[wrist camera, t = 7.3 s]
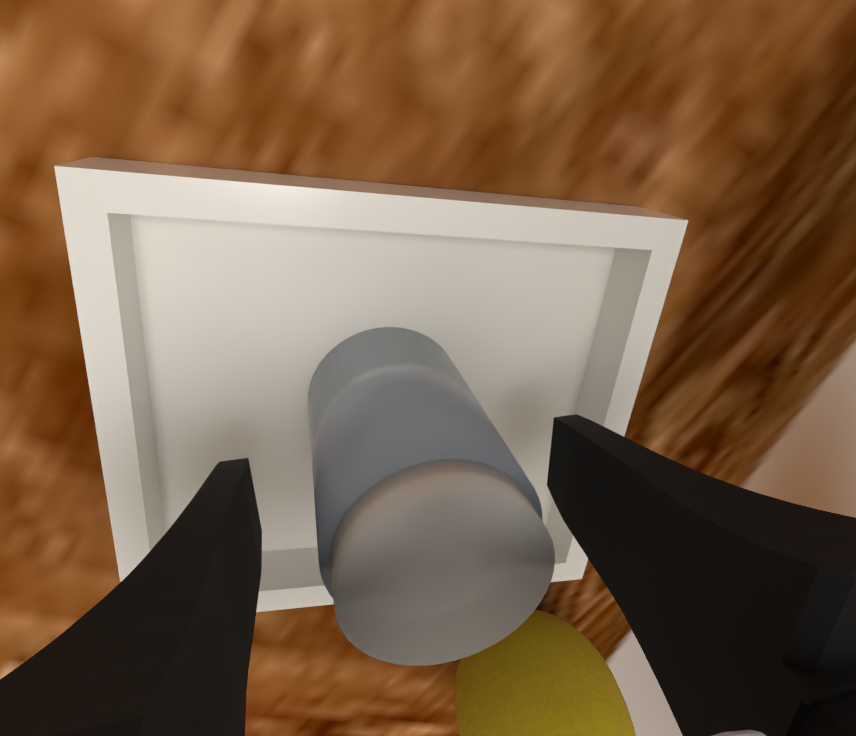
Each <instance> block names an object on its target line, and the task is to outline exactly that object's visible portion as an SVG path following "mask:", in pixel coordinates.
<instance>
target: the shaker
mask: <svg viewBox="0 0 856 736" xmlns="http://www.w3.org/2000/svg"><path fill="white" fill-rule="evenodd" d="M308 416H309V430H310V445H311V459H312V473H313V488H314V502H315V517H316V531H317V546H318V560H319V568H320V574H321V577H322V580H323V583H324V585H325V587H326V589H327V591H328V593H329V594H330V596H331V597H332V598H333V601H334V609H335V616H336V619H337V622H338V625H339V627H340V629H341V630H342V632H343V634H344V635H345V637H346V638H347V639H348V640H349V641H350V642H351V643H352V644H353V645H354V646H355V647H356V648H358V649H359V650H360V651H362V652H364V653H365V654H367V655H369V656H371V657H373V658H376V659H378V660H381V661H385V662H388V663H392V664H399V665H408V666H425V665H435V664H442V663H447V662H451V661H455V660H459V659H462V658H465V657H468V656H471V655H473V654H475V653H478V652H480V651H482V650H484V649H486V648H488V647H490V646H492V645H494V644H496V643H497V642H499V641H500V640H502V639H504V638H505V637H506V636H508V635H509V634H510V633H512V632H513V631H514V630H516V629H517V628H518V627H519V626H520V625H521V624H522V623H523V622H525V621H526V619H527V618H528V617H529V616H530V615H531V614H532V613H533V612H534V610H535V609H536V608H537V606H538V605H539V604H540V602H541V601H542V599H543V597H544V595H545V594H546V592H547V590H548V587H549V585H550V583H551V580H552V576H553V572H554V565H555V550H554V546H553V541H552V538H551V536H550V534H549V532H548V530H547V528H546V526H545V525H544V523H543V518H542V508H541V504H540V500H539V497H538V495H537V493H536V490H535V488H534V487H533V485H532V484H531V482H530V481H529V479H528V478H527V476H526V474H525V473H524V471H523V470H522V468H521V467H520V465H519V464H518V462H517V460H516V459H515V457H514V456H513V454H512V453H511V451H510V450H509V448H508V447H507V445H506V443H505V442H504V440H503V439H502V437H501V436H500V434H499V433H498V431H497V430H496V428H495V426H494V425H493V423H492V422H491V420H490V419H489V417H488V416H487V414H486V412H485V411H484V409H483V408H482V406H481V405H480V403H479V402H478V400H477V399H476V397H475V395H474V394H473V392H472V391H471V389H470V388H469V386H468V385H467V383H466V381H465V380H464V378H463V377H462V375H461V374H460V372H459V371H458V369H457V368H456V366H455V364H454V363H453V361H452V360H451V358H450V357H449V355H448V354H447V352H446V351H445V350H444V349H443V348H442V347H441V346H440V345H439V344H438V343H436V342H435V341H434V340H432V339H431V338H429V337H427V336H426V335H424V334H421V333H419V332H417V331H413V330H410V329H405V328H398V327H382V328H375V329H370V330H366V331H363V332H360V333H357V334H355V335H353V336H351V337H349V338H347V339H345V340H344V341H342V342H341V343H339V344H338V345H336V346H335V347H334V348H333V349H332V350H331V351H330V352H329V353H328V354H327V355H326V356H325V357H324V358H323V359H322V361H321V362H320V364H319V365H318V367H317V368H316V370H315V372H314V374H313V376H312V379H311V382H310V386H309V391H308Z"/></svg>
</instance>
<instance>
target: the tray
mask: <svg viewBox="0 0 856 736" xmlns="http://www.w3.org/2000/svg"><path fill="white" fill-rule="evenodd" d="M54 168H55V174H56V180H57V187H58V193H59V199H60V205H61V212H62V218H63V224H64V231H65V237H66V243H67V250H68V256H69V262H70V268H71V275H72V281H73V287H74V294H75V300H76V306H77V312H78V319H79V325H80V331H81V338H82V344H83V350H84V357H85V363H86V369H87V375H88V382H89V388H90V394H91V401H92V407H93V413H94V419H95V426H96V432H97V438H98V445H99V451H100V457H101V464H102V470H103V476H104V482H105V489H106V495H107V501H108V508H109V514H110V520H111V526H112V533H113V539H114V545H115V552H116V558H117V564H118V571H119V577H120V582H121V581H122V580H123V579H125V578H126V577H127V576H128V575H129V574H130V573H131V571H132V570H133V569H134V568H135V567H136V566H137V565H138V564H139V563H140V562H141V561H142V560H143V559H144V558H145V556H146V555H147V554H148V553H149V552H150V551H151V550H152V548H153V547H154V546H155V545H156V544H157V543H158V541H159V540H160V539H161V538H162V537H163V536H164V534H165V533H166V532H167V531H168V530H169V528H170V527H171V526H172V525H173V523H174V522H175V521H176V520H177V518H178V517H179V516H180V514H181V513H182V512H183V510H184V509H185V508H186V507H187V505H188V504H189V503H190V501H191V500H192V498H193V497H194V496H195V494H196V493H197V492H198V490H199V489H200V487H201V486H202V485H203V483H204V482H205V480H206V479H207V477H208V476H209V474H210V473H211V472H212V470H213V469H214V467H215V466H216V465H217V464H218V463H219V462H220V461H228V460H235V459H243V458H249V464H250V469H251V475H252V480H253V485H254V491H255V496H256V501H257V507H258V512H259V518H260V523H261V528H262V568H261V579H260V587H259V595H258V602H257V610H256V612H262V611H272V610H282V609H292V608H302V607H312V606H321V605H331V604H334V601H333V598H332V597H331V596H330V594H329V593H328V591H327V589H326V587H325V585H324V583H323V580H322V577H321V574H320V568H319V560H318V546H317V531H316V517H315V502H314V488H313V473H312V459H311V445H310V430H309V416H308V391H309V386H310V382H311V379H312V376H313V374H314V372H315V370H316V368H317V367H318V365H319V364H320V362H321V361H322V359H323V358H324V357H325V356H326V355H327V354H328V353H329V352H330V351H331V350H332V349H333V348H334V347H335V346H336V345H338V344H339V343H341V342H342V341H344V340H345V339H347V338H349V337H351V336H353V335H355V334H357V333H360V332H363V331H366V330H370V329H375V328H382V327H398V328H405V329H410V330H413V331H417V332H419V333H421V334H424V335H426V336H427V337H429V338H431V339H432V340H434V341H435V342H436V343H438V344H439V345H440V346H441V347H442V348H443V349H444V350H445V351H446V352H447V354H448V355H449V357H450V358H451V360H452V361H453V363H454V364H455V366H456V368H457V369H458V371H459V372H460V374H461V375H462V377H463V378H464V380H465V381H466V383H467V385H468V386H469V388H470V389H471V391H472V392H473V394H474V395H475V397H476V399H477V400H478V402H479V403H480V405H481V406H482V408H483V409H484V411H485V412H486V414H487V416H488V417H489V419H490V420H491V422H492V423H493V425H494V426H495V428H496V430H497V431H498V433H499V434H500V436H501V437H502V439H503V440H504V442H505V443H506V445H507V447H508V448H509V450H510V451H511V453H512V454H513V456H514V457H515V459H516V460H517V462H518V464H519V465H520V467H521V468H522V470H523V471H524V473H525V474H526V476H527V478H528V479H529V481H530V482H531V484H532V485H533V487H534V488H535V490H536V493H537V495H538V497H539V500H540V504H541V508H542V518H543V523H544V525H545V526H546V528H547V530H548V532H549V534H550V536H551V538H552V541H553V546H554V550H555V565H554V572H553V576H552V580H551V582H557V581H567V580H577V579H582V577H583V574H584V570H585V567H586V564H587V560H588V557H587V556H586V554H585V553H584V551H583V550H582V548H581V547H580V545H579V544H578V542H577V541H576V539H575V538H574V536H573V535H572V533H571V531H570V530H569V528H568V527H567V525H566V524H565V522H564V520H563V519H562V517H561V515H560V513H559V511H558V509H557V506H556V504H555V502H554V500H553V498H552V496H551V493H550V491H549V489H548V487H547V478H548V468H549V459H550V449H551V439H552V430H553V420H554V417H560V416H567V415H575V414H577V415H580V416H582V417H585V418H587V419H589V420H591V421H594V422H596V423H598V424H600V425H602V426H604V427H606V428H608V429H610V430H612V431H614V432H616V433H617V434H619V435H621V436H623V437H624V436H625V432H626V429H627V426H628V422H629V419H630V416H631V412H632V409H633V405H634V402H635V399H636V395H637V392H638V389H639V385H640V382H641V379H642V375H643V372H644V368H645V365H646V362H647V358H648V355H649V352H650V348H651V345H652V341H653V338H654V335H655V331H656V328H657V325H658V321H659V318H660V315H661V311H662V308H663V304H664V301H665V298H666V294H667V291H668V288H669V284H670V281H671V278H672V274H673V271H674V267H675V264H676V261H677V257H678V254H679V251H680V247H681V244H682V241H683V237H684V234H685V230H686V227H687V224H688V220H685V219H682V218H678V217H675V216H671V215H667V214H664V213H660V212H657V211H653V210H649V209H646V208H642V207H638V206H627V205H616V204H605V203H594V202H583V201H572V200H561V199H550V198H539V197H528V196H517V195H506V194H495V193H484V192H473V191H462V190H451V189H440V188H429V187H418V186H407V185H396V184H385V183H374V182H363V181H352V180H341V179H330V178H319V177H308V176H297V175H286V174H275V173H264V172H253V171H242V170H231V169H220V168H209V167H198V166H187V165H176V164H165V163H155V162H144V161H133V160H122V159H111V158H100V157H89V158H85V159H80V160H76V161H72V162H68V163H64V164H60V165H56V166H54Z"/></svg>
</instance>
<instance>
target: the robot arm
mask: <svg viewBox="0 0 856 736" xmlns="http://www.w3.org/2000/svg"><path fill="white" fill-rule="evenodd" d="M547 487H548V489H549V491H550V493H551V496H552V498H553V500H554V502H555V504H556V506H557V509H558V511H559V513H560V515H561V517H562V519H563V520H564V522H565V524H566V525H567V527H568V528H569V530H570V531H571V533H572V535H573V536H574V538H575V539H576V541H577V542H578V544H579V545H580V547H581V548H582V550H583V551H584V553H585V554H586V556H587V557H588V559H589V560H590V562H591V563H592V565H593V566H594V568H595V569H596V571H597V572H598V574H599V575H600V577H601V578H602V580H603V581H604V583H605V584H606V586H607V587H608V589H609V590H610V592H611V593H612V595H613V597H614V598H615V600H616V602H617V603H618V605H619V607H620V608H621V610H622V612H623V614H624V615H625V617H626V619H627V621H628V623H629V625H630V627H631V629H632V631H633V633H634V635H635V636H636V638H637V640H638V642H639V644H640V646H641V648H642V650H643V652H644V654H645V656H646V658H647V660H648V662H649V664H650V666H651V668H652V670H653V672H654V674H655V676H656V678H657V680H658V682H659V685H660V687H661V688H662V690H663V693H664V695H665V697H666V699H667V702H668V704H669V706H670V708H671V710H672V712H673V715H674V717H675V719H676V721H677V723H678V726H679V728H680V730H681V732H682V735H683V736H856V518H853V517H849V516H844V515H840V514H835V513H831V512H826V511H822V510H817V509H813V508H809V507H805V506H801V505H797V504H793V503H790V502H786V501H783V500H779V499H776V498H772V497H769V496H766V495H762V494H759V493H756V492H753V491H750V490H746V489H743V488H740V487H738V486H735V485H732V484H729V483H727V482H724V481H721V480H718V479H716V478H713V477H710V476H708V475H705V474H703V473H700V472H698V471H695V470H693V469H691V468H688V467H686V466H684V465H682V464H679V463H677V462H675V461H673V460H670V459H668V458H666V457H664V456H662V455H660V454H658V453H655V452H653V451H651V450H649V449H647V448H645V447H643V446H641V445H639V444H637V443H635V442H633V441H631V440H629V439H627V438H625V437H623V436H621V435H619V434H617V433H616V432H614V431H612V430H610V429H608V428H606V427H604V426H602V425H600V424H598V423H596V422H594V421H591V420H589V419H587V418H585V417H582V416H580V415H577V414H575V415H567V416H560V417H554V420H553V430H552V439H551V449H550V459H549V468H548V478H547ZM261 568H262V528H261V523H260V518H259V512H258V507H257V501H256V496H255V491H254V485H253V480H252V475H251V469H250V464H249V458H243V459H235V460H228V461H220V462H219V463H218V464H217V465H216V466H215V467H214V469H213V470H212V472H211V473H210V474H209V476H208V477H207V479H206V480H205V482H204V483H203V485H202V486H201V487H200V489H199V490H198V492H197V493H196V494H195V496H194V497H193V498H192V500H191V501H190V503H189V504H188V505H187V507H186V508H185V509H184V510H183V512H182V513H181V514H180V516H179V517H178V518H177V520H176V521H175V522H174V523H173V525H172V526H171V527H170V528H169V530H168V531H167V532H166V533H165V534H164V536H163V537H162V538H161V539H160V540H159V541H158V543H157V544H156V545H155V546H154V547H153V548H152V550H151V551H150V552H149V553H148V554H147V555H146V556H145V558H144V559H143V560H142V561H141V562H140V563H139V564H138V565H137V566H136V567H135V568H134V569H133V570H132V571H131V573H130V574H129V575H128V576H127V577H126V578H125V579H123V580H122V581H121V582H120V583H119V584H118V585H117V586H116V587H115V588H114V589H113V590H112V591H111V592H110V593H109V594H108V595H107V596H106V597H105V598H103V599H102V600H101V601H100V602H99V603H98V604H96V605H95V606H94V607H93V608H92V609H91V610H89V611H88V612H87V613H86V614H85V615H84V616H82V617H81V618H80V619H79V620H78V621H76V622H75V623H74V624H73V625H72V626H71V627H69V628H68V629H67V630H66V631H65V632H64V633H62V634H61V635H60V636H59V637H57V638H56V639H55V640H53V641H52V642H51V643H50V644H48V645H47V646H46V647H44V648H43V649H42V650H40V651H39V652H38V653H36V654H35V655H34V656H33V657H31V658H30V659H28V660H27V661H26V662H24V663H23V664H21V665H20V666H19V667H17V668H16V669H15V670H13V671H12V672H10V673H9V674H8V675H6V676H5V677H3V678H2V679H0V736H245V714H246V689H247V679H248V668H249V661H250V654H251V646H252V639H253V632H254V624H255V617H256V610H257V602H258V595H259V587H260V579H261Z"/></svg>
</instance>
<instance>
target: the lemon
mask: <svg viewBox="0 0 856 736" xmlns="http://www.w3.org/2000/svg"><path fill="white" fill-rule="evenodd" d="M455 710H456V720H457V726H458V731H459V735H460V736H636V735H635V731H634V726H633V723H632V720H631V717H630V714H629V711H628V708H627V705H626V703H625V700H624V698H623V696H622V693H621V691H620V689H619V687H618V685H617V683H616V680H615V678H614V676H613V674H612V672H611V670H610V669H609V667H608V665H607V664H606V662H605V660H604V659H603V658H602V656H601V655H600V653H599V652H598V651H597V649H596V648H595V647H594V646H593V645H592V643H591V642H590V641H589V640H588V639H587V638H586V637H585V636H584V635H582V634H581V633H580V632H579V631H578V630H577V629H576V628H574V627H573V626H572V625H571V624H569V623H568V622H566V621H565V620H563V619H561V618H559V617H557V616H554V615H552V614H549V613H547V612H544V611H539V610H534V612H533V613H532V614H531V615H530V616H529V617H528V618H527V619H526V621H525V622H523V623H522V624H521V625H520V626H519V627H518V628H517V629H516V630H514V631H513V632H512V633H510V634H509V635H508V636H506V637H505V638H504V639H502V640H500V641H499V642H497V643H496V644H494V645H492V646H490V647H488V648H486V649H484V650H482V651H480V652H478V653H475V654H473V655H471V656H468V657H465V658H462V659H460V661H459V664H458V668H457V672H456V677H455Z"/></svg>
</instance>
